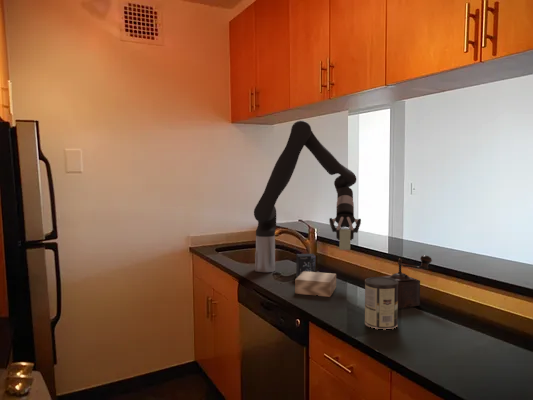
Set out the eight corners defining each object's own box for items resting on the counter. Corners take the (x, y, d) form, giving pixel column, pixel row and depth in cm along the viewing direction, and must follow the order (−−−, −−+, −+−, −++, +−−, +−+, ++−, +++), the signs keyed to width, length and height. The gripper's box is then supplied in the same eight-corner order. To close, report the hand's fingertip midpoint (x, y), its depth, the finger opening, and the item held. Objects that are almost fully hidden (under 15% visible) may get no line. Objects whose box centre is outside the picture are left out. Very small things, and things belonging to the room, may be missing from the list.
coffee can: (379, 316, 140) (380, 275, 139) (404, 326, 131) (405, 282, 130) (357, 322, 134) (357, 279, 133) (381, 333, 126) (382, 287, 125)
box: (298, 279, 186) (298, 256, 185) (296, 276, 192) (296, 253, 191) (315, 279, 187) (315, 255, 186) (312, 275, 193) (312, 253, 192)
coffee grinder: (398, 310, 146) (399, 259, 145) (378, 300, 156) (379, 253, 155) (433, 304, 152) (434, 256, 150) (412, 296, 162) (413, 250, 160)
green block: (339, 249, 175) (339, 230, 175) (339, 247, 180) (339, 229, 179) (350, 249, 174) (350, 230, 174) (350, 247, 179) (350, 229, 178)
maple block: (295, 294, 166) (295, 279, 165) (303, 284, 179) (303, 271, 179) (330, 297, 161) (330, 282, 161) (336, 287, 174) (336, 273, 174)
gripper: (328, 202, 184) (327, 233, 173) (361, 202, 182) (362, 234, 171) (329, 212, 190) (327, 243, 179) (361, 213, 187) (362, 244, 176)
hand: (345, 239), depth 175 cm, fingers closed on green block, 4 cm apart
